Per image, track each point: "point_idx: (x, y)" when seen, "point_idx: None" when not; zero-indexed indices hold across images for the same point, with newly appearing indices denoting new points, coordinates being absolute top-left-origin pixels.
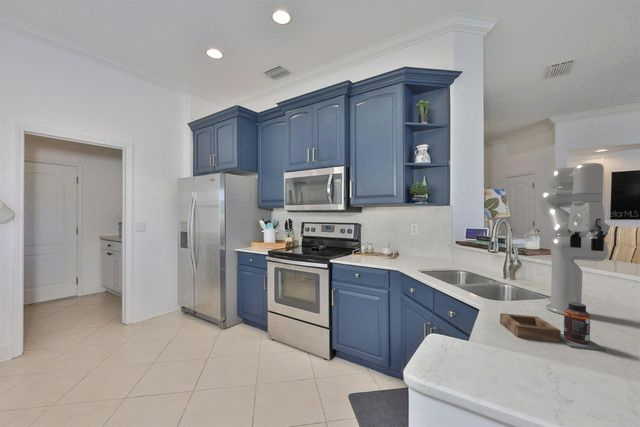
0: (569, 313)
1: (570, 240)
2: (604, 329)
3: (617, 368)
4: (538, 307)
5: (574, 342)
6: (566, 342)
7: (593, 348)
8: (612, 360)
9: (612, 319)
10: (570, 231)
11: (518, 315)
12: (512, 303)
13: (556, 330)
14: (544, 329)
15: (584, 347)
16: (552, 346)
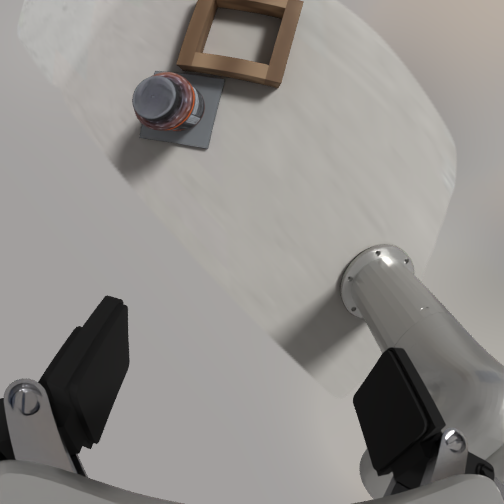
0: (158, 73)
1: (423, 391)
2: (264, 265)
3: (83, 97)
4: (413, 237)
5: None
6: None
7: None
8: (106, 114)
9: (321, 343)
10: (470, 471)
11: (287, 34)
12: (444, 189)
13: (179, 55)
14: (186, 32)
15: None
16: (161, 37)
